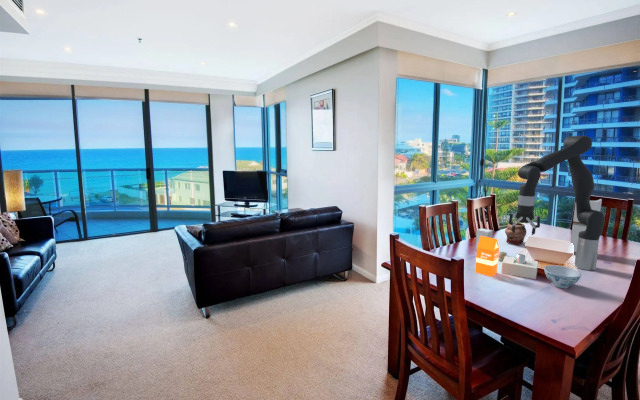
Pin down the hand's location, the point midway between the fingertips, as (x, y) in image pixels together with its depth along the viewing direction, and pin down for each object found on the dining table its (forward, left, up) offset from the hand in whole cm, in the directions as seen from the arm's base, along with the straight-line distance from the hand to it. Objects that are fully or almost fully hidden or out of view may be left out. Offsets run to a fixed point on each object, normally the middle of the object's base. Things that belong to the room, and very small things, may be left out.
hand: (523, 233), depth 183 cm
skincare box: (+22, -26, -22) cm, 41 cm away
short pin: (+10, -15, -22) cm, 28 cm away
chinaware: (-18, +8, -22) cm, 30 cm away
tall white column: (-30, -55, -22) cm, 66 cm away
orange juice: (+15, +10, -22) cm, 29 cm away
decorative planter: (+7, -59, -22) cm, 63 cm away
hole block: (0, 0, -22) cm, 22 cm away
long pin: (0, 0, -22) cm, 22 cm away
